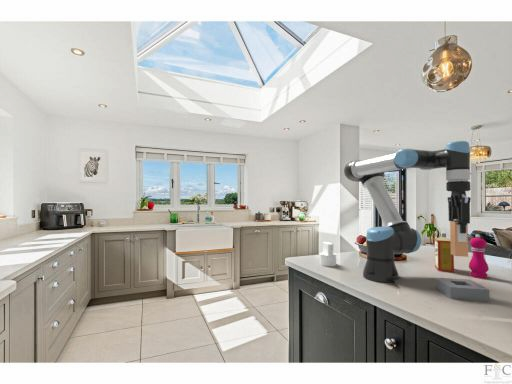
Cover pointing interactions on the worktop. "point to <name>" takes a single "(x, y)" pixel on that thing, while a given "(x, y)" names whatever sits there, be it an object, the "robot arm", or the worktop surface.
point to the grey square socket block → (462, 289)
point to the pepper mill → (478, 258)
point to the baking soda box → (443, 255)
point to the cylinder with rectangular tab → (328, 255)
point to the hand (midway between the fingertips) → (459, 240)
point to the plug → (456, 246)
